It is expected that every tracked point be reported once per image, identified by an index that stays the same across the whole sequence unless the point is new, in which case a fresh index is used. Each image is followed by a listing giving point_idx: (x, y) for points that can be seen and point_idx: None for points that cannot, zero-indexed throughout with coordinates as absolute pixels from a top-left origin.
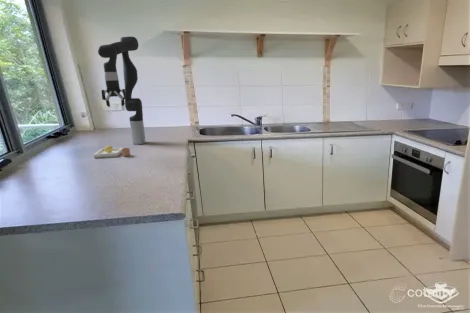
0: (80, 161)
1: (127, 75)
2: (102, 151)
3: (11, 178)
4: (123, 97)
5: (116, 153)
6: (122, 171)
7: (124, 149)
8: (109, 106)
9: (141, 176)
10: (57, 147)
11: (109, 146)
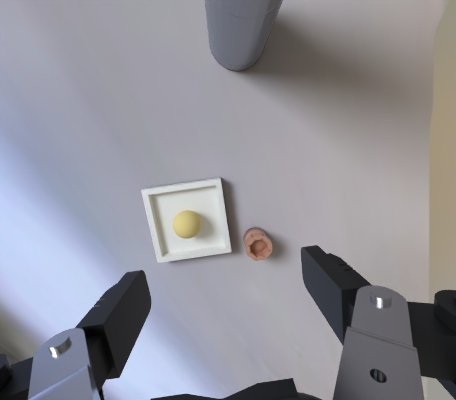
0: None
1: None
2: (152, 197)
3: None
4: (434, 375)
5: (228, 251)
6: (293, 359)
7: (259, 257)
8: (148, 289)
9: None
10: None
11: (192, 232)
